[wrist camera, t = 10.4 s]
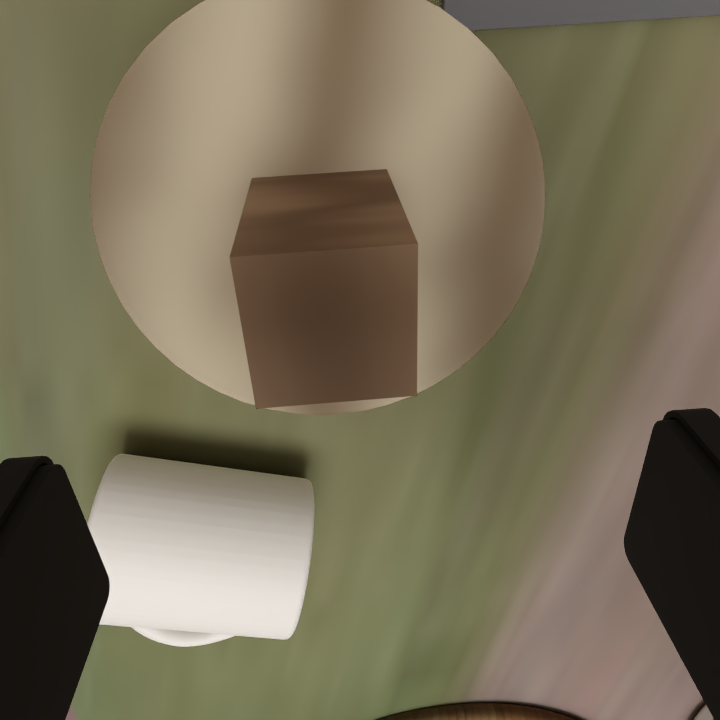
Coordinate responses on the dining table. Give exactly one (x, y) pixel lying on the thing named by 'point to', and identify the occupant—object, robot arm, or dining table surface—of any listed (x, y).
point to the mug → (202, 549)
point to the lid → (317, 199)
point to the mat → (570, 11)
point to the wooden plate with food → (479, 713)
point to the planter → (704, 714)
